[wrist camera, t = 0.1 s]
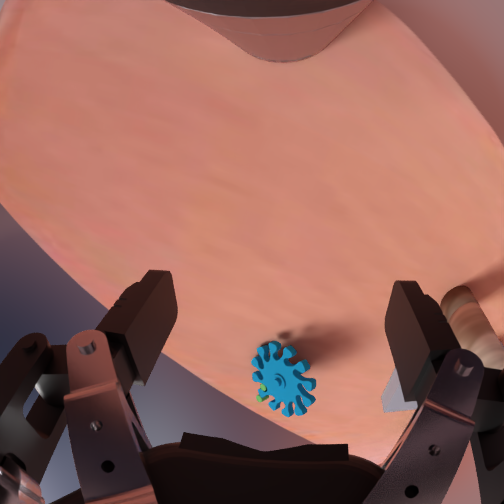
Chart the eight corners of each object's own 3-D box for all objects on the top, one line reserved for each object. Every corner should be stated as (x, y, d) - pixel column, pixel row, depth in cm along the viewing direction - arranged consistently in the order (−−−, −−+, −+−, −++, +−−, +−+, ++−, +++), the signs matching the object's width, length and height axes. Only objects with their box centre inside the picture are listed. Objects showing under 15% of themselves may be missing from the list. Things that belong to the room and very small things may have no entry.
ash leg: (447, 286, 30) (491, 375, 18) (475, 285, 29) (522, 367, 18) (435, 315, 32) (470, 403, 21) (463, 313, 31) (501, 395, 20)
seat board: (402, 351, 35) (407, 368, 33) (500, 341, 33) (508, 355, 31) (381, 396, 41) (383, 412, 38) (472, 385, 39) (477, 398, 36)
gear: (276, 329, 33) (324, 405, 29) (309, 316, 37) (353, 383, 33) (233, 366, 40) (270, 429, 35) (265, 353, 44) (299, 410, 39)
